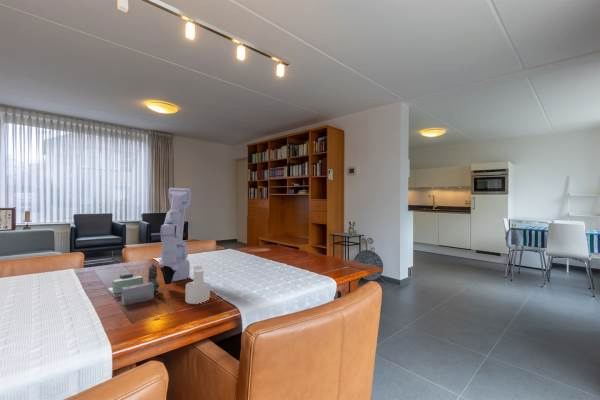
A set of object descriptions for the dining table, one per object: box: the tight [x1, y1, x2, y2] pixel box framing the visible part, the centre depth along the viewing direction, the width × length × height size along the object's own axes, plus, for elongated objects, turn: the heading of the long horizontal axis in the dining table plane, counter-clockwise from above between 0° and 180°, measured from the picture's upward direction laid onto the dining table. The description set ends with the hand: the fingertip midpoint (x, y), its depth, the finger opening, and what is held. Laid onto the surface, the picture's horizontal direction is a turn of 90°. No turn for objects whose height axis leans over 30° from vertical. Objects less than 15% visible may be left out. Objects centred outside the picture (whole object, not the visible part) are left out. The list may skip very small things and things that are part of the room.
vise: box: [107, 282, 155, 307], centre depth 109 cm, size 10×22×6 cm, turn 47°
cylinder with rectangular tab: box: [184, 265, 211, 305], centre depth 106 cm, size 9×9×12 cm
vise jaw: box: [112, 272, 144, 293], centre depth 112 cm, size 10×6×6 cm, turn 137°
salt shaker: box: [147, 263, 161, 296], centre depth 112 cm, size 6×6×12 cm
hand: (168, 283), depth 117 cm, fingers closed
